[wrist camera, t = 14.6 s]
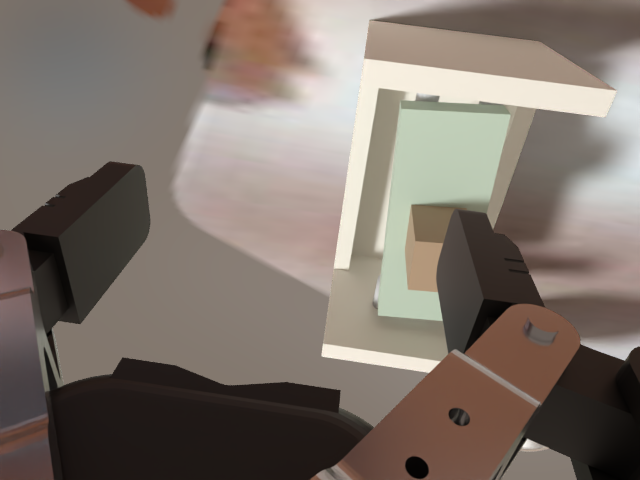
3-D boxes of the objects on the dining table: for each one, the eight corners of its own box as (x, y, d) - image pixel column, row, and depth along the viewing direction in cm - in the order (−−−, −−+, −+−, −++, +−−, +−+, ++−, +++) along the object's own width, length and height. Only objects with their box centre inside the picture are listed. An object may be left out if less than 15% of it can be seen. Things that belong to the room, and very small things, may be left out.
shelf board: (400, 100, 32) (404, 135, 26) (504, 105, 32) (532, 142, 26) (377, 300, 42) (377, 358, 36) (456, 307, 41) (469, 367, 36)
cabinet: (539, 41, 38) (617, 90, 26) (461, 273, 51) (488, 381, 39) (369, 20, 39) (364, 58, 26) (335, 255, 52) (321, 356, 39)
